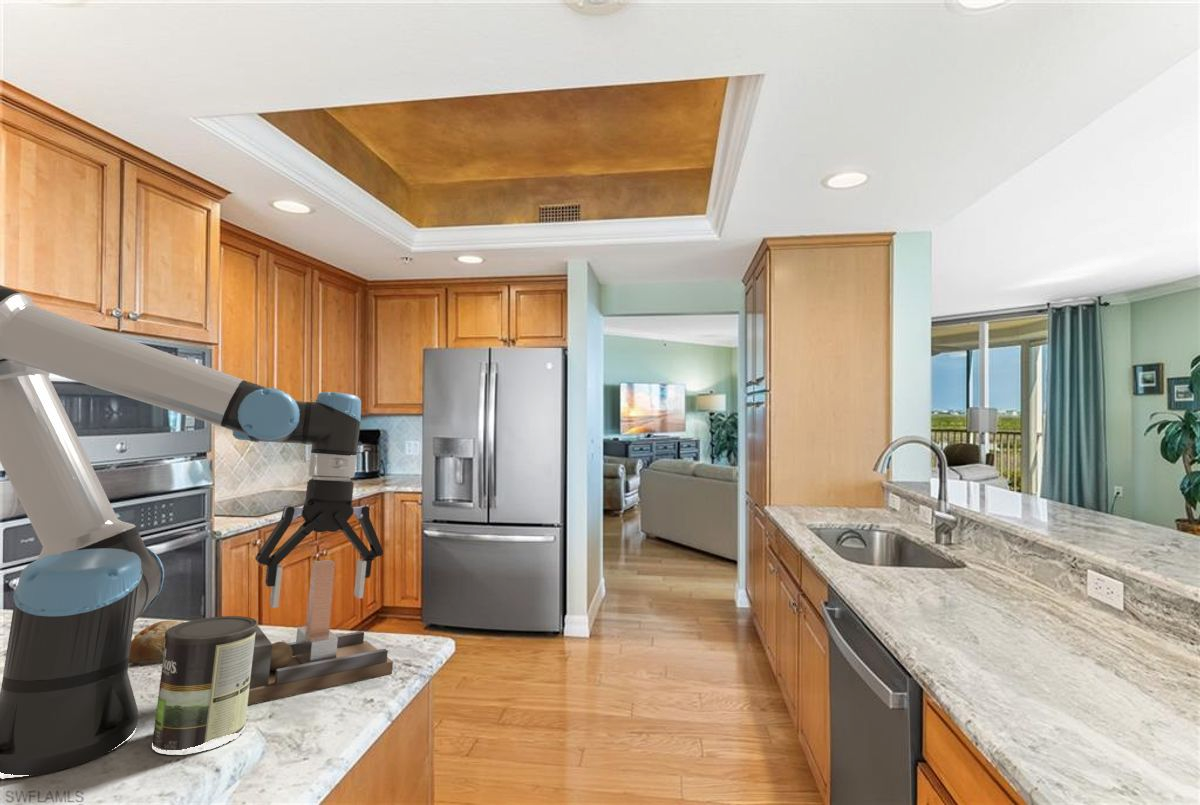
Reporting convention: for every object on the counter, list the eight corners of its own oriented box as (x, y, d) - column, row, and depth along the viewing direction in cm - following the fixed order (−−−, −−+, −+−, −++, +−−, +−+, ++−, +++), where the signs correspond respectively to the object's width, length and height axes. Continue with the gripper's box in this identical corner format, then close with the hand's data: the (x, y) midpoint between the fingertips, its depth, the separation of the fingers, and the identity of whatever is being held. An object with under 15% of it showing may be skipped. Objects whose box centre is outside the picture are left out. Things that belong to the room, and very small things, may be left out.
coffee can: (151, 766, 65) (166, 643, 67) (150, 731, 73) (164, 622, 75) (252, 740, 72) (263, 629, 73) (241, 712, 79) (252, 612, 81)
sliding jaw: (309, 672, 89) (319, 567, 91) (294, 654, 96) (304, 558, 98) (335, 667, 92) (344, 565, 94) (319, 650, 99) (327, 556, 101)
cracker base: (245, 705, 81) (251, 649, 82) (231, 676, 92) (236, 627, 93) (391, 673, 96) (395, 626, 97) (365, 651, 106) (368, 608, 107)
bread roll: (144, 689, 94) (165, 647, 94) (105, 657, 97) (126, 616, 97) (196, 669, 104) (216, 631, 104) (160, 640, 106) (179, 603, 106)
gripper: (254, 477, 87) (236, 615, 84) (407, 481, 103) (396, 597, 100) (246, 475, 92) (229, 605, 90) (392, 479, 109) (382, 589, 106)
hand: (317, 601), depth 95 cm, fingers open, 13 cm apart
